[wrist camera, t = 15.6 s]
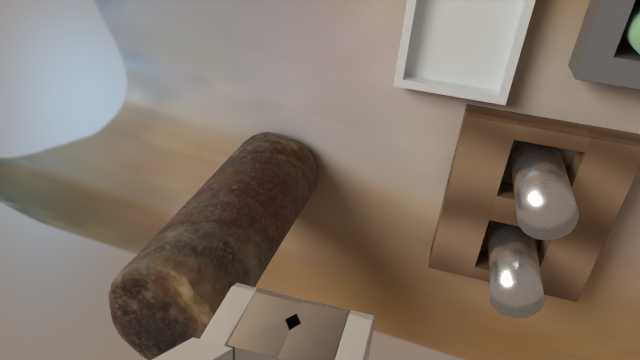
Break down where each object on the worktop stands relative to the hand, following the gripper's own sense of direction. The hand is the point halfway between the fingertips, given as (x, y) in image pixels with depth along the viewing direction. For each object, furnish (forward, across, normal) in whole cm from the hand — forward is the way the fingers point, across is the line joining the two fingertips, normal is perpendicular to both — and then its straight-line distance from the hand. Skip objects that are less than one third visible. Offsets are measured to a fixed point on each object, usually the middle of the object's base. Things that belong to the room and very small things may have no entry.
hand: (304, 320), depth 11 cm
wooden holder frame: (+30, -10, +14) cm, 35 cm away
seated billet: (+30, -10, +17) cm, 36 cm away
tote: (+30, -3, +1) cm, 31 cm away
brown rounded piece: (+30, +11, +15) cm, 35 cm away
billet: (+30, -10, +10) cm, 33 cm away
